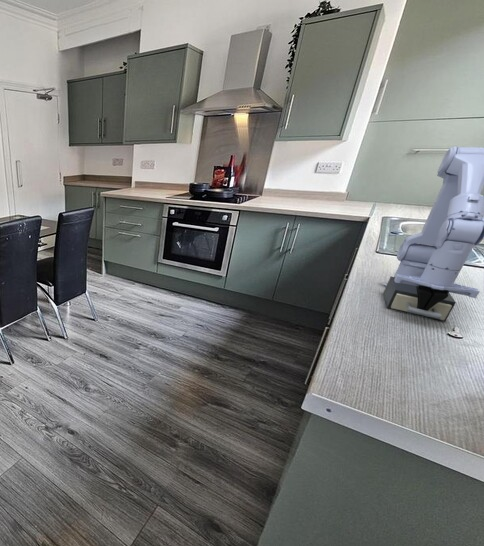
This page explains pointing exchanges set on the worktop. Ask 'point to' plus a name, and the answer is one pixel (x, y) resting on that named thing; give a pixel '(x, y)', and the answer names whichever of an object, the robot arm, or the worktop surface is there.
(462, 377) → the worktop surface
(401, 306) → the cream drawer
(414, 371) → the worktop surface
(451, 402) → the worktop surface
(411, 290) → the drawer box
